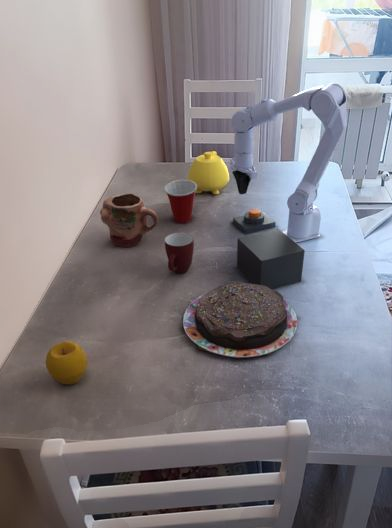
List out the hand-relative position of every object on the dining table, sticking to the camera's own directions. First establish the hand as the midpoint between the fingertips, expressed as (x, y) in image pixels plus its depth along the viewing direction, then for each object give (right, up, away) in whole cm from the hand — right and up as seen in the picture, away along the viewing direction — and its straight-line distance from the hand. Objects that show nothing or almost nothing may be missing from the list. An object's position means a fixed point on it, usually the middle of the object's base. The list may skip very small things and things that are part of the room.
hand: (242, 193), depth 155 cm
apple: (-42, -53, -50) cm, 84 cm away
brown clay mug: (-35, -16, -1) cm, 39 cm away
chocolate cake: (-4, -41, -36) cm, 55 cm away
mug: (-20, -27, -17) cm, 38 cm away
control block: (+4, -9, +5) cm, 11 cm away
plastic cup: (-20, -7, +10) cm, 23 cm away
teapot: (-10, +11, +32) cm, 35 cm away
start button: (+4, -7, +3) cm, 8 cm away
